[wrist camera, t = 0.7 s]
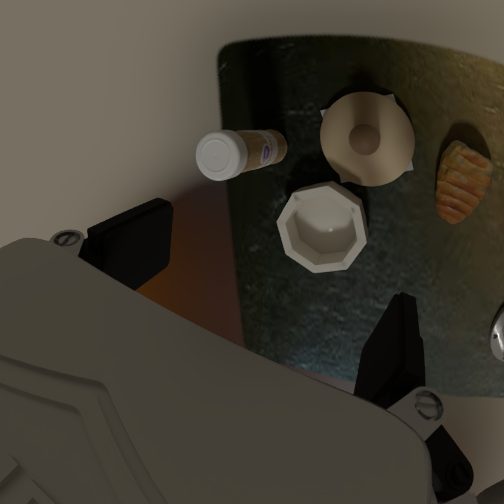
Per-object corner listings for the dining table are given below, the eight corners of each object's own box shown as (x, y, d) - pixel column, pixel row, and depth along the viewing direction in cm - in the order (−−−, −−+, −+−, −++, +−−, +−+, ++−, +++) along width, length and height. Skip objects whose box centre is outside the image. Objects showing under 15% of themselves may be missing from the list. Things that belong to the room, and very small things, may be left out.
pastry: (465, 228, 29) (472, 239, 26) (420, 206, 31) (424, 214, 28) (492, 160, 24) (503, 163, 21) (446, 134, 26) (453, 134, 23)
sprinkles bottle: (290, 162, 36) (241, 180, 25) (256, 164, 38) (197, 183, 26) (286, 127, 34) (234, 127, 23) (252, 130, 36) (190, 134, 25)
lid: (398, 84, 26) (401, 73, 20) (423, 177, 29) (431, 187, 23) (310, 105, 31) (293, 99, 26) (335, 192, 34) (324, 205, 29)
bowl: (356, 175, 33) (353, 180, 29) (372, 253, 35) (370, 266, 32) (281, 191, 38) (269, 198, 34) (300, 262, 40) (291, 275, 37)
